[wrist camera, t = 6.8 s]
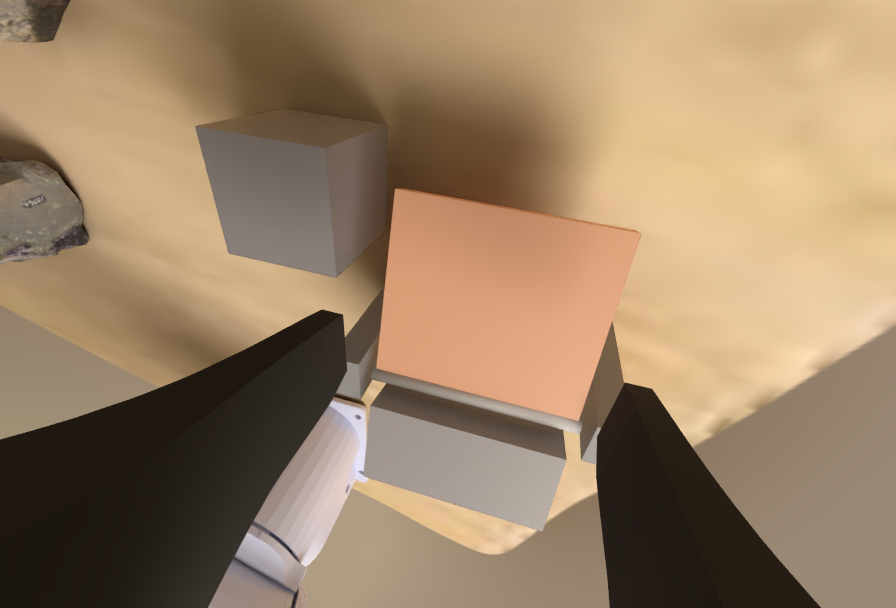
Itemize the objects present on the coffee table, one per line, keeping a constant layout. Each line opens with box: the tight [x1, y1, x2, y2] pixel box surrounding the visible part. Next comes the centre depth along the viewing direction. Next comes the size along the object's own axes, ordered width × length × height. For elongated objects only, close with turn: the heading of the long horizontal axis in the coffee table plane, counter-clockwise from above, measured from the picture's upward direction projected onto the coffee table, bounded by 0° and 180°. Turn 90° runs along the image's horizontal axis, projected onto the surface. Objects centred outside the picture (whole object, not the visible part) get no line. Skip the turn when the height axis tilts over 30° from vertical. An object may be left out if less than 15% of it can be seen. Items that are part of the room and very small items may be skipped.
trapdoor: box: [363, 188, 641, 531], centre depth 15 cm, size 12×8×2 cm
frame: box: [336, 287, 624, 464], centre depth 17 cm, size 2×11×7 cm, turn 84°
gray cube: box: [195, 109, 387, 278], centre depth 16 cm, size 5×5×5 cm
